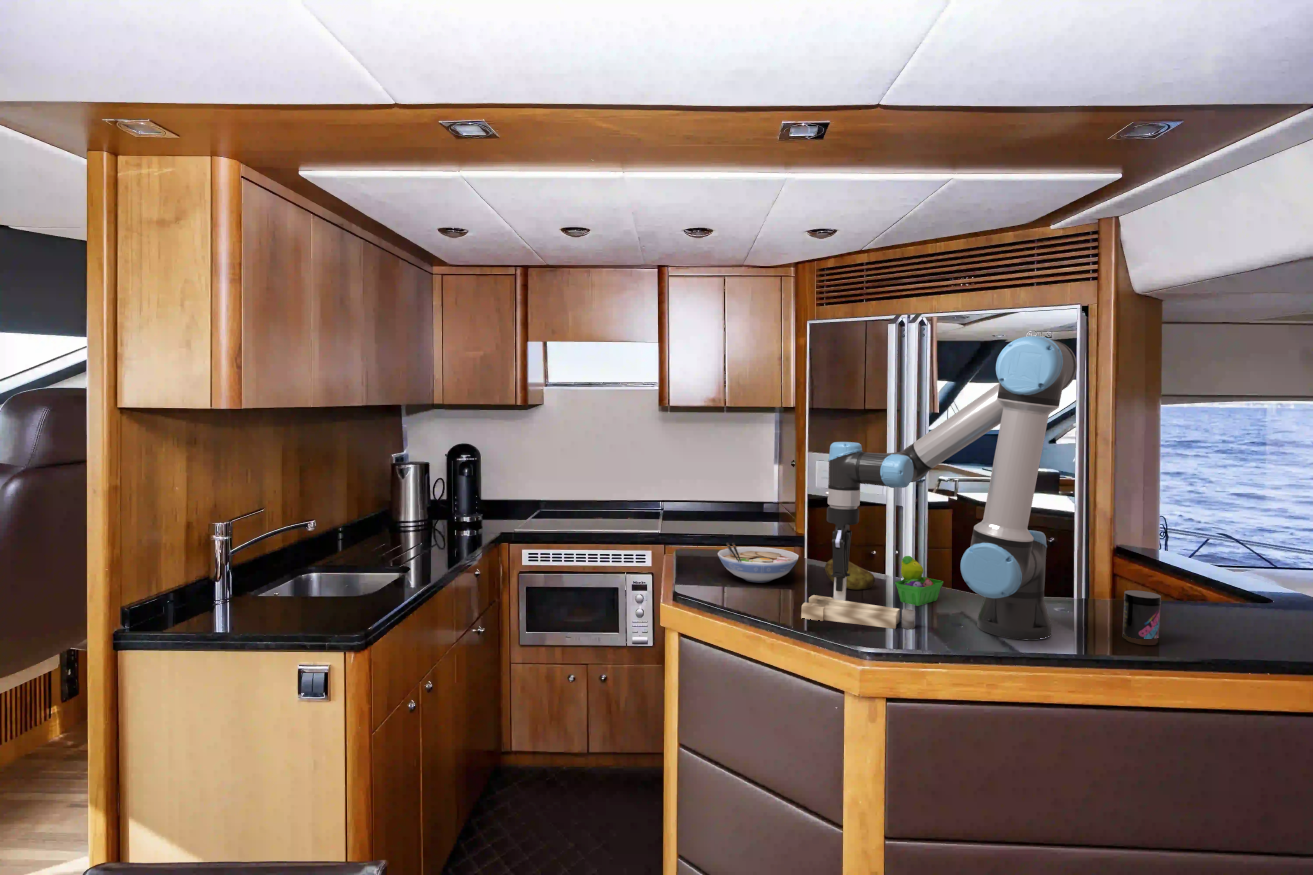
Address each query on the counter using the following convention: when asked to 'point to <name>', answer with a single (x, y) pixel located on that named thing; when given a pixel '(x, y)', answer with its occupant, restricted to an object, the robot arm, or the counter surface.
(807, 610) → the tongs fixed
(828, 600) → the bar
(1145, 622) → the supplement container
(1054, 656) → the counter surface
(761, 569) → the ramen bowl
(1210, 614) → the counter surface
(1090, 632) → the counter surface
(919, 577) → the fruit basket
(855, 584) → the potato
